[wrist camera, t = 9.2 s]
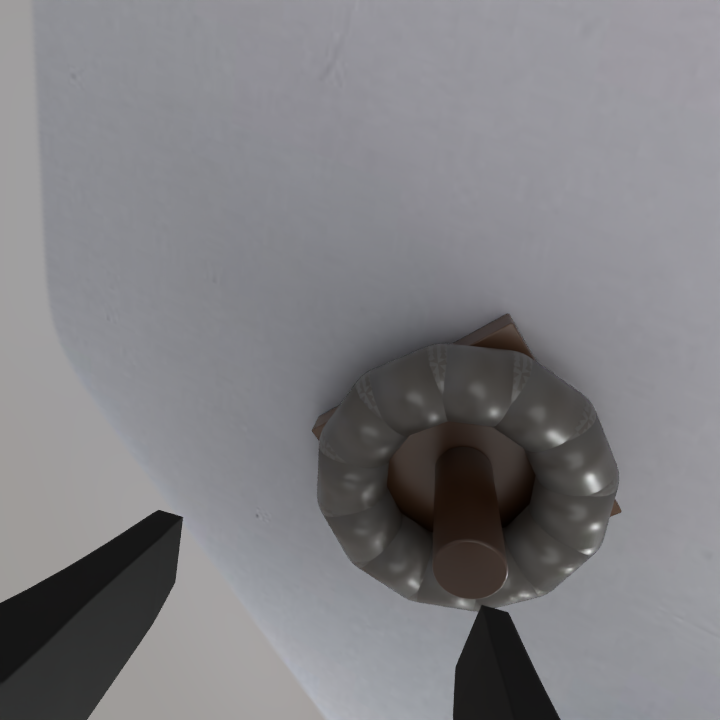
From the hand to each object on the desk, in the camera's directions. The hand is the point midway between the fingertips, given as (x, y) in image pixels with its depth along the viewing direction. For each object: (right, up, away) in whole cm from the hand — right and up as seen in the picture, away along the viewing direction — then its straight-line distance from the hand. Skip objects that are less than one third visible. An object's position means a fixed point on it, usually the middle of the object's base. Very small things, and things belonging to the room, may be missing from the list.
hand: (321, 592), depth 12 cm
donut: (+4, +1, +5) cm, 7 cm away
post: (+5, +2, +8) cm, 9 cm away
